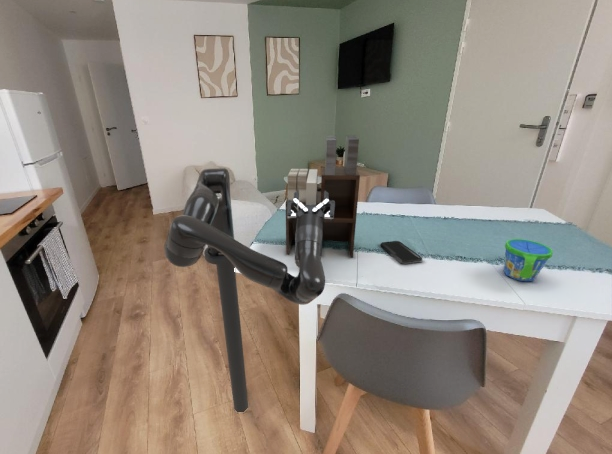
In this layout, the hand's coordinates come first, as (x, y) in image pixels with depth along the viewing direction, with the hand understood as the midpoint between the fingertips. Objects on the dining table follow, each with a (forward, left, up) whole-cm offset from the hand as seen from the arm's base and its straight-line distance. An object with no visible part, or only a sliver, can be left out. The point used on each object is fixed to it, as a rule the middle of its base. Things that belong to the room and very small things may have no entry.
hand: (311, 192), depth 91 cm
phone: (+32, -12, -26) cm, 43 cm away
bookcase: (+11, +8, -26) cm, 29 cm away
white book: (+5, +6, -5) cm, 9 cm away
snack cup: (+49, -41, -26) cm, 69 cm away
